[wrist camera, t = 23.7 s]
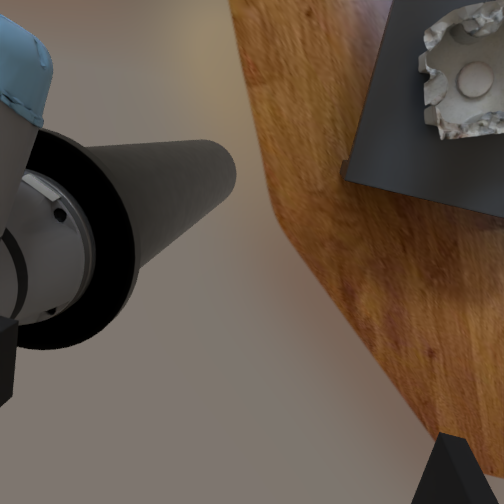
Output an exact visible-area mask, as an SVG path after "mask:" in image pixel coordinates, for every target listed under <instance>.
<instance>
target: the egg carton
mask: <svg viewBox="0 0 504 504" xmlns="http://www.w3.org/2000/svg"><path fill="white" fill-rule="evenodd" d="M424 42H425V45H426V48H427V49H428V51H426V52H424V53H423V54H422V55H420V56H419V68H418V70H419V72H420V73H427V74H430V79H429V80H428V81H427V82H426V83H424V102H425V105H427V104H430V105H431V106H430V107H428V108H426V109H425V110H424V120H425V124H429V125H434V126H437V127H438V129H439V134H440V138H441V140H443V139H444V138H446V139H457V138H464V137H472V136H479V135H488V134H500V133H504V0H496V1H490V2H483V3H478V4H473V5H468V6H464V7H461V8H458V9H455V10H453V11H451V12H450V13H448V14H446V15H445V16H444V17H442V18H441V19H440V20H439V21H437V22H436V23H435V24H434V25H432V26H431V27H430V28H428V29H427V30H425V33H424Z"/></svg>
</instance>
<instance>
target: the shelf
mask: <svg viewBox="0 0 504 504" xmlns="http://www.w3.org/2000/svg"><path fill="white" fill-rule="evenodd" d="M490 1H496V0H393V1H392V5H391V8H390V12H389V15H388V19H387V23H386V26H385V30H384V33H383V37H382V40H381V44H380V48H379V51H378V55H377V58H376V62H375V66H374V69H373V73H372V76H371V80H370V84H369V87H368V91H367V94H366V98H365V102H364V105H363V109H362V112H361V116H360V120H359V123H358V127H357V130H356V134H355V138H354V141H353V145H352V148H351V152H350V156H349V159H348V160H343V162H342V166H341V169H340V175H341V176H342V177H343V179H344V180H345V181H349V182H354V183H358V184H362V185H366V186H370V187H375V188H379V189H383V190H387V191H391V192H396V193H400V194H404V195H408V196H413V197H417V198H421V199H425V200H429V201H434V202H438V203H442V204H446V205H450V206H455V207H459V208H463V209H467V210H471V211H476V212H480V213H484V214H488V215H493V216H497V217H501V218H504V133H500V134H488V135H479V136H472V137H464V138H457V139H446V138H444V139H443V140H441V138H440V134H439V129H438V127H437V126H434V125H429V124H425V120H424V110H425V109H426V108H428V107H430V106H431V105H430V104H427V105H425V102H424V83H426V82H427V81H428V80H429V79H430V74H427V73H420V72H419V70H418V68H419V56H420V55H422V54H423V53H424V52H426V51H428V49H427V48H426V45H425V42H424V33H425V30H427V29H428V28H430V27H431V26H432V25H434V24H435V23H436V22H437V21H439V20H440V19H441V18H442V17H444V16H445V15H446V14H448V13H450V12H451V11H453V10H455V9H458V8H461V7H464V6H468V5H473V4H478V3H483V2H490Z"/></svg>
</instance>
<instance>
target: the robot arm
mask: <svg viewBox="0 0 504 504" xmlns="http://www.w3.org/2000/svg"><path fill="white" fill-rule="evenodd" d="M52 75H53V64H52V60H51V57H50V54H49V52H48V50H47V49H46V47H45V46H44V44H43V43H42V42H40V40H39V39H38V38H37V37H35V36H34V35H33V34H31V33H30V32H28V31H27V30H25V29H24V28H22V27H21V26H19V25H17V24H16V23H14V22H13V21H11V20H9V19H8V18H6V17H4V16H3V15H1V14H0V407H1V406H2V405H3V404H4V403H6V402H7V401H8V400H9V399H10V398H11V397H12V395H13V382H14V371H15V360H16V348H17V337H18V325H24V324H31V323H36V322H41V321H44V320H47V319H49V318H52V317H54V316H57V315H58V314H60V313H62V312H63V311H65V310H66V309H68V308H69V307H70V306H72V305H73V304H74V303H76V302H77V301H78V300H79V299H80V298H81V297H82V296H83V294H84V293H85V292H86V290H87V289H88V287H89V285H90V283H91V281H92V278H93V275H94V272H95V267H96V260H97V248H96V240H95V235H94V232H93V228H92V226H91V223H90V221H89V218H88V217H87V215H86V213H85V211H84V209H83V208H82V206H81V205H80V203H79V202H78V201H77V200H76V198H75V197H74V196H73V195H72V194H71V193H70V192H69V191H68V190H67V189H66V188H65V187H63V186H62V185H61V184H60V183H58V182H57V181H55V180H54V179H52V178H50V177H48V176H46V175H45V174H42V173H40V172H37V171H34V170H31V169H26V165H27V162H28V159H29V156H30V153H31V150H32V147H33V144H34V141H35V138H36V135H37V133H38V130H39V128H42V126H43V122H44V120H43V118H42V114H43V110H44V106H45V102H46V98H47V94H48V91H49V87H50V84H51V80H52ZM411 504H499V503H498V501H497V499H496V497H495V495H494V493H493V492H492V490H491V488H490V486H489V484H488V482H487V480H486V478H485V476H484V474H483V472H482V470H481V468H480V466H479V464H478V462H477V460H476V458H475V457H474V455H473V453H472V451H471V449H470V447H469V445H468V443H467V441H466V439H464V438H460V437H456V436H452V435H449V434H445V433H441V432H439V435H438V437H437V440H436V442H435V445H434V448H433V450H432V452H431V455H430V457H429V460H428V463H427V465H426V468H425V470H424V472H423V475H422V477H421V480H420V483H419V485H418V488H417V490H416V493H415V495H414V498H413V500H412V503H411Z"/></svg>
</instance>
